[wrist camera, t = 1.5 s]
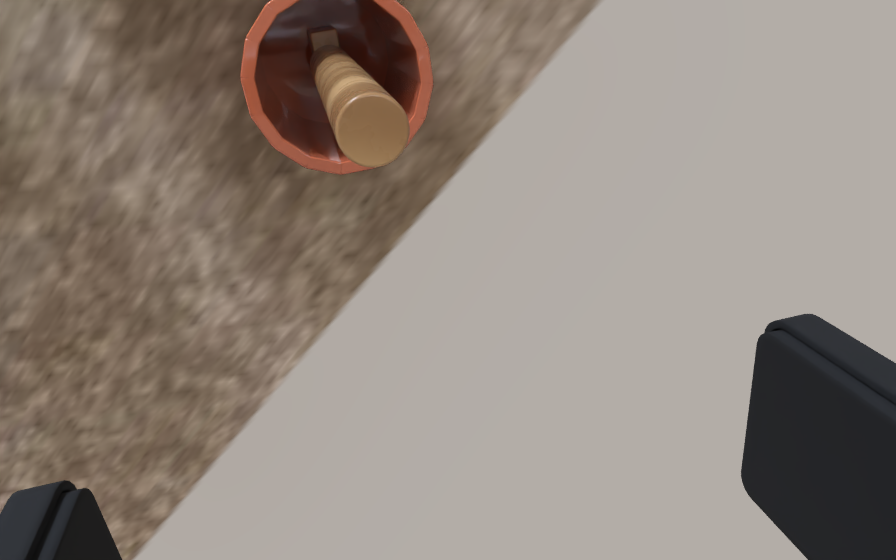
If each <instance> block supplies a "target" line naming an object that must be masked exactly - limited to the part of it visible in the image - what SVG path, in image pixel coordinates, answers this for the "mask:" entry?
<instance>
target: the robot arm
mask: <svg viewBox="0 0 896 560" xmlns="http://www.w3.org/2000/svg"><path fill="white" fill-rule="evenodd" d="M741 477H742V482H743V485H744V488H745V490H746V491H747V493H748V495H749V496H750V497H751V499H752V500H753V501H754V502H755V503H756V504H757V505H758V506H759V507H760V508H761V509H762V510H763V512H764V513H765V514H766V515H767V516H768V517H769V518H770V519H771V520H772V521H773V522H774V524H775V525H776V526H777V527H778V528H779V529H780V530H781V531H782V532H783V533H784V534H785V535H786V536H787V537H788V539H789V540H791V542H792V543H793V544H794V545H795V546H796V547H797V548H798V549H799V550H800V551H801V553H802V554H803V555H804V556H805V557H806V558H807V559H808V560H896V363H894V362H893V361H891V360H889V359H888V358H886V357H884V356H883V355H881V354H879V353H878V352H876V351H874V350H873V349H871V348H869V347H868V346H866V345H864V344H863V343H861V342H860V341H858V340H856V339H854V338H853V337H851V336H850V335H848V334H846V333H845V332H843V331H841V330H840V329H838V328H836V327H835V326H833V325H831V324H829V323H828V322H826V321H825V320H823V319H821V318H820V317H818V316H816V315H813V314H803V315H799V316H794V317H790V318H785V319H781V320H777V321H773V322H771V323H769V325H768V326H767V327H766V329H765V333H764V334H762V335H761V336H760V337H759V339H758V342H757V347H756V356H755V364H754V372H753V380H752V388H751V397H750V404H749V413H748V420H747V429H746V437H745V445H744V453H743V461H742V469H741ZM0 560H122V558H121V556H120V554H119V552H118V549H117V547H116V545H115V543H114V540H113V538H112V536H111V534H110V531H109V529H108V527H107V525H106V522H105V520H104V518H103V516H102V513H101V511H100V509H99V507H98V504H97V502H96V500H95V498H94V496H93V494H92V492H91V491H90V490H89V489H87V488H83V489H78V490H77V489H76V487H75V485H74V484H72V483H71V482H70V481H65V480H64V481H60V482H56V483H51V484H47V485H42V486H38V487H33V488H29V489H24V490H20V491H17V492H15V493H13V494H12V495H11V497H10V498H9V499H8V501H7V503H6V505H5V506H4V508H3V510H2V512H1V514H0Z"/></svg>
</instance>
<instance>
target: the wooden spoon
mask: <svg viewBox="0 0 896 560" xmlns="http://www.w3.org/2000/svg"><path fill="white" fill-rule="evenodd" d="M307 32H308V37H309V41H310V46H311V50H312V57H311V60H310V70H311V73H312V76H313V79H314V81H315V84H316V87H317V90H318V92H319V95H320V98H321V100H322V103H323V106H324V108H325V111H326V114H327V116H328V119H329V122H330V125H331V127H332V130H333V133H334V135H335V138H336V141H337V143H338V146H339V148H340V149H341V151H342V152H343V154H344V155H345V156H346V157H347V158H348V159H349V160H351V161H352V162H354V163H356V164H358V165H360V166H364V167H370V168H375V167H381V166H385V165H387V164H389V163H391V162H393V161H394V160H395V159H397V158H398V157H399V156H400V155H401V153H402V152H403V151H404V149H405V147H406V145H407V143H408V139H409V134H410V127H409V121H408V117H407V115H406V113H405V111H404V109H403V108H402V106H401V105H400V104H399V103H398V102H397V101H396V100H395V99H394V98H393V97H392V96H391V95H390V94H389V93H388V92H386V91H385V90H384V89H383V88H382V87H381V86H380V85H379V84H378V83H377V82H376V81H375V80H374V79H373V78H372V77H371V76H370V75H369V74H368V73H367V72H366V71H365V70H364V69H362V68H361V67H360V66H359V65H358V64H357V63H356V62H355V61H354V60H353V59H352V58H351V57H350V56H349V55H348V54H347V53H346V52H345V51H344V50H342V49H341V48H340V43H339V38H338V33H337V30H336V28H334V27H333V26H331V25H329V26H322V27H316V28H310V29H308V30H307Z"/></svg>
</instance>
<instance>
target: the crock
mask: <svg viewBox="0 0 896 560" xmlns="http://www.w3.org/2000/svg"><path fill="white" fill-rule="evenodd" d="M329 25H331V26H333V27H334V28H336V30H337V33H338V38H339V43H340V48H341V49H342V50H344V51H345V52H346V53H347V54H348V55H349V56H350V57H351V58H352V59H353V60H354V61H355V62H356V63H357V64H358V65H359V66H360V67H361V68H362V69H364V70H365V71H366V72H367V73H368V74H369V75H370V76H371V77H372V78H373V79H374V80H375V81H376V82H377V83H378V84H379V85H380V86H381V87H382V88H383V89H384V90H385V91H386V92H388V93H389V94H390V95H391V96H392V97H393V98H394V99H395V100H396V101H397V102H398V103H399V104H400V105H401V106H402V108H403V109H404V111H405V113H406V115H407V117H408V121H409V127H410V134H409V139H408V143H407V145H408V144H409V143H410V141H411V140H412V138H413V137H414V135H415V134H416V132H417V131H418V130H419V128H420V127H421V125H422V124H423V122H424V121H425V119H426V115H427V111H428V106H429V102H430V98H431V94H432V89H433V75H432V67H431V60H430V53H429V47H428V44H427V42H426V41H425V39H424V37H423V35H422V33H421V32H420V30H419V28H418V26H417V24H416V23H415V21H414V19H413V17H412V16H411V14H410V13H409V12H408V10H407V9H405V8H404V7H403V6H402V5H401V4H399V3H398V2H397V1H396V0H270V1H269V2H268V3H267V4H266V5H265V6H264V8H263V9H262V11H261V13H260V14H259V16H258V18H257V19H256V21H255V23H254V24H253V26H252V27H251V29H250V31H249V32H248V34H247V36H246V39H245V43H244V51H243V58H242V66H241V73H240V78H241V79H240V80H241V84H242V88H243V91H244V95H245V99H246V103H247V106H248V110H249V114H250V116H251V118H252V120H253V121H254V122H255V124H256V125H257V126H258V128H259V129H260V131H261V132H262V133H263V135H264V136H265V137H266V139H267V140H268V141H269V143H270V144H271V145H272V147H274V148H275V149H276V150H277V151H279V152H281V153H282V154H284V155H285V156H287V157H288V158H290V159H292V160H293V161H295V162H296V163H298V164H300V165H301V166H303V167H306V168H307V169H312V170H318V171H323V172H328V173H333V174H339V175H340V174H342V175H343V174H348V173H354V172H359V171H364V170H369V169H374V168H370V167H364V166H360V165H358V164H356V163H354V162H352V161H351V160H349V159H348V158H347V157H346V156H345V155H344V154H343V152H342V151H341V149H340V148H339V146H338V143H337V141H336V138H335V135H334V133H333V130H332V127H331V125H330V122H329V119H328V116H327V114H326V111H325V108H324V106H323V103H322V100H321V98H320V95H319V92H318V90H317V87H316V84H315V81H314V79H313V76H312V73H311V70H310V60H311V57H312V50H311V46H310V41H309V37H308V32H307V30H308V29H310V28H316V27H322V26H329ZM407 145H406V147H407ZM406 147H405V148H406Z"/></svg>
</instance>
